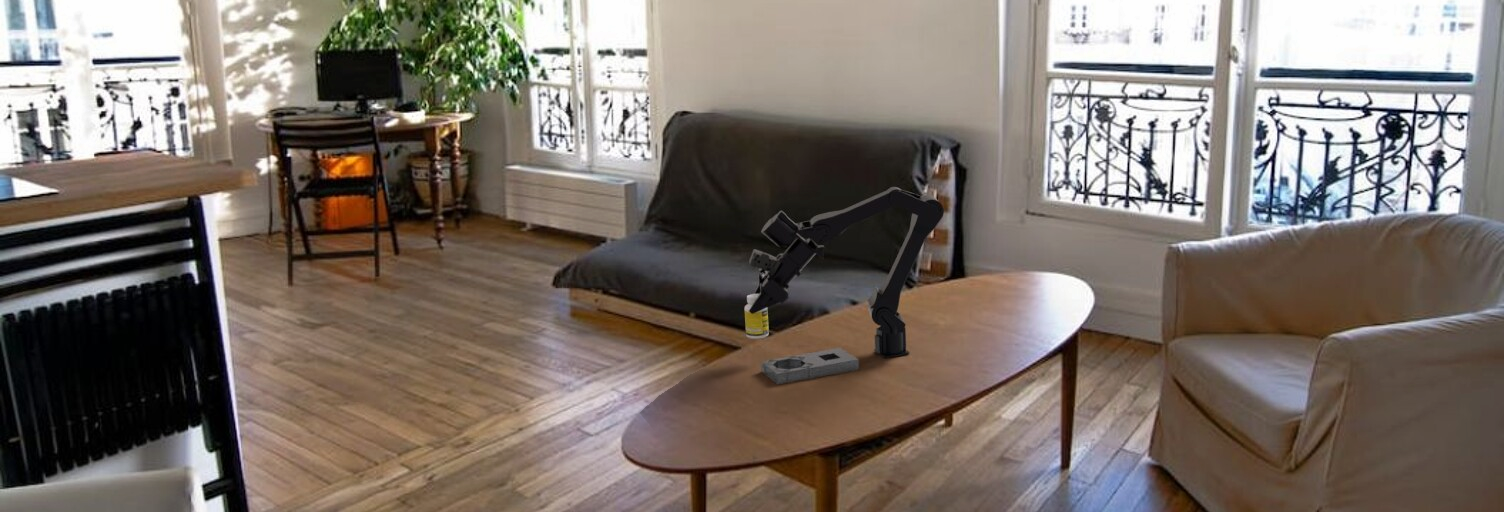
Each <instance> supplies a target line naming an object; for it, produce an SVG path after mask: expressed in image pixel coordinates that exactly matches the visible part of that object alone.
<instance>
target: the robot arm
mask: <svg viewBox="0 0 1504 512" xmlns="http://www.w3.org/2000/svg"><path fill="white" fill-rule="evenodd" d="M895 207H896V208H900V209H903V210H904V211H907V212H909V213H911V219H910V224H909V230H908V232H907V234H906V236H905V238H904V241H903V244H902V245H901V248H900V249H899V251H898V254H897V255H896V256H897V257H896V258H895V260H894V262H893V264H892V267H891V269H890V271H889V273H888V275H887V278H886V280H885V282H884V283H883V284H882V286H880V287H879V288H878V287H877V286H875V285H874V286H873V288H872V292H871V295H870V297H869V298H868V299H867V304H868V305H867V310H868V312H869V315H870V317H871V320H872V321H873V322H874V323H875V324H876V325H877V326H879V327H876V328H875V329H876V330H875V331H876V332H875V333H876V334H875V335H874V349H873V352H874V353H876V354H877V355H879V356H881V357H883V358H885V359H889V358H895V357H899V356H904V355H905V356H906V355H909V354H911V353H910V351H909V350H907V335H906V334H907V333H906V332H907V331H906V330H907V329H906V323H905V321H904V319H903V318H902V315H901V314H900V313H899V312H898V309H899V305H900V300H901V299H900V298H901V293H902V290H903V288H904V286H905V283H906V281H907V279H908V277H909V275H910V273H911V271H912V268H913V266H914V264H915V262H916V260H917V258H918V256H919V254H920V252H921V249H922V248H923V245H924V243H925V241H926V239H927V238H928V236H929V235H930V234H931V233H932V232H933V231H934V230H935V229H936V228H937V226H938V225H939V223H940V222H941V220H942V219H943V216H944V213H945V210H944V206H943V204H942V203H941V202H940V201H939V200H938V199H937V198H936V197H935V196H933V195H930V194H925V195H919V194H917V193H914V192H910V191H907V190H904V189H901V188H900V187H897V186H890V187H889V188H888V189H886V190H885V191H882V192H880V193H878V194H876V195H874V196H871V197H869V198H866V199H864V200H862V201H860V202H857V203H855V204H853V205H850V206H848V207H846V208H844V209H840V210H834V211H828V212H825V213H820V214H817V215H815V216H813V217H812V218H811V219H810V220H805V221H802V222H797V223H795V222H794V221H793V220H792V219H791V218H790V217H789V216H787V214H786V213H785V212H784V211H783V210H779V211H778V213H776V214H775V215H774V216H773V217H771V218H769V220H768V221H767V222H766V223H765V224H764V226H763V227H762V229H761V233H762V234H763V235H764V236H766V238H767V239H769V240H770V241H771V242H772V243H774V244H775V245H776V247H779V248H781V247H784V248H787V249H785V251H784V252H783V253H782V252H781V253H778V254H777V256H773V255H771V254H770V253H767V252H764V251H762V250H758V249H756V248H755V249H753V250H752V252H751V254H750V255H751V256H750V257H749V260H748V264H749V265H750V266H751V267H753V268H759V269H758V271H759V272H760V273H761V274H760V273H757V275H758V276H757V277H758V285H757V286H756V288H755V290H754V292H753V294H759V295H758V297H757V299H756V300H755V302H754V303H753V305H752V306H751V308H750V310H749V312H750V313H751V314H753V313H756V312H758V311H760V310H762V309H765V308H767V309H768V308H769V307H771V306H774V305H776V304H780V303H781V305H784V304H785V303H786V302H787V300H788V299H789V291H788V289H789V287H790V283H791V282H792V281H793V280H795V278H796V277H800V275H801V274H802V272H801V271H802V270H803V269H804V268H805V267H806V266H807V264H808V263H810V261H811V260H812V259H813V258H814V257H815V256H816V255H817V256H818V257H819V258H820V259H822V260H823V259H825V253H824V251H825V246H824V244H827V243H831V241H833V240H835V239H836V238H837V237H839V236H840V235H841V234H843V233H844V232H845V231H846V230H848V229H849V228H851V226H852V227H853V226H854V225H857V224H859V223H861V222H863V221H866V220H868V219H870V218H872V217H874V216H875V217H876V216H877V215H879V214H882V213H884V212H887V211H888V210H890V209H891V210H892V209H893V208H895ZM817 243H818V244H821V245H818V244H817ZM789 245H790V246H789ZM788 246H789V247H788Z"/></svg>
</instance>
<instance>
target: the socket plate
mask: <svg viewBox="0 0 1504 512" xmlns="http://www.w3.org/2000/svg"><path fill="white" fill-rule="evenodd" d="M760 367H761V368H760V369H761V373H762V374H764V376H766V377H767V378H768V379H770V380H771V381H772V382H773V383H775V384H776V385H782V384H788V383H793V382H798V381H804V380H805V381H806V380H810V379H815V378H820V377H827V376H831V375H838V374H843V373H847V372H853V371H859V367H860V366H859V359H858V358H857V357H855V356H854V355H852V354H851V353H849V352H848V351H846V350H844V349H843V348H841V347H837V348H830V349H825V350H819V351H813V352H809V353H808V352H807V353H802V354H797V355H791V356H786V357H780V358H779V357H778V358H773V359H767V360H762V361H760Z"/></svg>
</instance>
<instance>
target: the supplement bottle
mask: <svg viewBox="0 0 1504 512" xmlns="http://www.w3.org/2000/svg"><path fill="white" fill-rule="evenodd" d="M758 295H759V294H754V293H751V294H748V295H747V296H746V302H747V304H746V305H744V321H745V326H744V327H745V335H746V337H747V338H748V339H764V338H767V337H768V336H769V334H770V333H769V332H770V330H769V316H768V315H769V313H768V307H767V308H765V309H762V310H760V311H758V312H756V313H753V314H751V313H750V312H749V310H750V308H751V306H752V305H753V303H754V302H755V300H756V299H757V297H758Z"/></svg>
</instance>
